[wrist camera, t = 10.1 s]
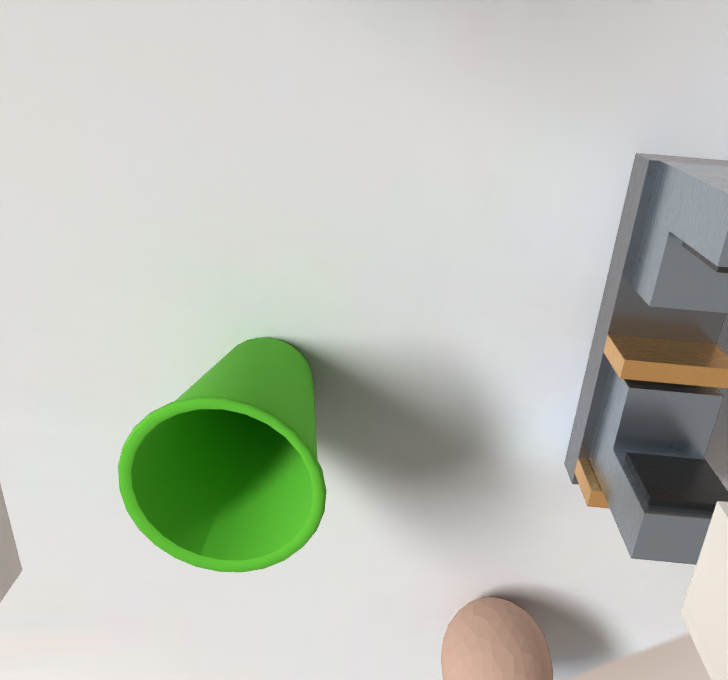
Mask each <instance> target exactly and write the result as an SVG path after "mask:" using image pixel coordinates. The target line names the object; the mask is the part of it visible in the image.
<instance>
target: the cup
mask: <svg viewBox="0 0 728 680" xmlns="http://www.w3.org/2000/svg"><path fill="white" fill-rule="evenodd" d="M118 472H119V488H120V492H121V495H122V498H123V501H124V504H125V507H126V510H127V512H128V513H129V515H130V516H131V518H132V519H133V521H134V522H135V524H136V525H137V527H138V529H139V530H140V531H141V532H142V533H143V534H144V535H145V536H146V537H148V538H149V539H150V540H151V541H152V542H153V543H154V544H155V545H156V546H158V547H159V548H161V549H162V550H164V551H165V552H167V553H168V554H170V555H171V556H173V557H174V558H177V559H179V560H181V561H184V562H186V563H189V564H191V565H194V566H196V567H200V568H205V569H210V570H214V571H219V572H246V571H252V570H258V569H264V568H267V567H269V566H272V565H274V564H276V563H279V562H281V561H284V560H285V559H287V558H288V557H290V556H291V555H292V554H294V553H295V552H297V551H298V550H299V549H301V548H302V547H303V546H304V545H305V544H306V543H307V541H308V540H309V539H310V538H311V537H312V535H313V534H314V533H315V532H316V530H317V528H318V526H319V523H320V521H321V518H322V516H323V514H324V511H325V500H326V487H325V482H324V477H323V472H322V468H321V466H320V464H319V462H318V460H317V445H316V426H315V406H314V386H313V377H312V372H311V369H310V367H309V365H308V362H307V361H306V359H305V358H304V357H303V356H302V354H301V353H300V352H299V351H298V350H296V349H295V348H294V347H293V346H291V345H290V344H288V343H286V342H283V341H281V340H277V339H273V338H255V339H250V340H247V341H245V342H243V343H241V344H239V345H237V346H236V347H235V348H234V349H233V350H231V351H230V352H229V353H228V354H227V355H226V356H225V357H224V358H223V359H221V360H220V361H219V362H218V363H217V364H216V365H215V366H214V367H213V368H211V369H210V370H209V371H208V372H207V373H206V374H205V375H204V376H203V377H201V378H200V379H199V380H198V381H197V382H196V383H195V384H194V385H193V386H191V387H190V388H189V389H188V390H187V391H186V392H185V393H184V394H183V395H181V396H180V397H179V398H178V399H177V400H176V401H175V402H171V403H169V404H167V405H165V406H163V407H161V408H159V409H157V410H155V411H153V412H151V413H150V414H149V415H148V416H146V417H145V418H144V419H143V420H142V421H141V422H140V423H139V424H138V425H136V426H135V427H134V429H133V430H132V432H131V434H130V435H129V437H128V438H127V440H126V442H125V443H124V445H123V448H122V452H121V456H120V461H119V465H118Z"/></svg>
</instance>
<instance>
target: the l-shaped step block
mask: <svg viewBox="0 0 728 680" xmlns="http://www.w3.org/2000/svg"><path fill="white" fill-rule="evenodd" d="M723 397H724V396H723V395H722V394H721V393H720V391H719V390H718V389H717V388H716V387H706V386H695V385H684V384H673V383H662V382H651V381H640V380H629V379H620V378H619V376H618V375H617V373H616V372H615V370H614V368H613V367H612V365H611V366H610V370H609V374H608V378H607V382H606V387H605V391H604V395H603V399H602V403H601V407H600V411H599V415H598V419H597V423H596V427H595V431H594V436H593V440H592V444H591V448H590V452H589V456H588V459H589V461H590V463H591V466H592V468H593V470H594V473H595V475H596V477H597V480H598V482H599V484H600V487H601V489H602V491H603V494H604V496H605V498H606V501H607V503H608V505H609V508H610V510H611V512H612V515H613V517H614V519H615V522H616V524H617V526H618V529H619V531H620V533H621V536H622V538H623V540H624V543H625V545H626V547H627V550H628V552H629V554H630V557H631V558H634V559H644V560H654V561H665V562H675V563H685V564H695V565H697V562H698V559H699V556H700V552H701V549H702V546H703V543H704V540H705V537H706V534H707V531H708V528H709V525H710V522H711V519H712V516H713V513H714V510H715V506H716V503H717V501H722V502H728V491H727V490H726V488H725V487H724V486H723V484H722V483H721V481H720V480H719V478H718V477H717V476H716V474H715V473H714V471H713V470H712V469H711V467H710V466H709V464H708V463H707V461H706V460H705V459H704V455H705V452H706V449H707V446H708V443H709V440H710V437H711V434H712V431H713V428H714V425H715V422H716V419H717V416H718V413H719V410H720V407H721V404H722V400H723Z"/></svg>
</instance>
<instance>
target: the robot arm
mask: <svg viewBox="0 0 728 680" xmlns="http://www.w3.org/2000/svg"><path fill="white" fill-rule="evenodd" d="M21 571H22V567H21V563H20V560H19V556H18V552H17V548H16V544H15V540H14V536H13V532H12V528H11V524H10V520H9V516H8V512H7V509H6V505H5V501H4V497H3V493H2V489H1V485H0V602H1V601H2V599H3V598H4V596H5V595H6V593H7V592H8V590H9V589H10V587H11V586H12V585H13V583H14V582H15V580H16V579H17V577H18V576H19V574H20V573H21ZM681 615H682V617H683V620H684V622H685V624H686V626H687V628H688V631H689V633H690V635H691V637H692V639H693V642H694V644H695V646H696V648H697V650H698V652H699V655H700V657H701V659H702V661H703V663H704V666H705V668H706V670H707V672H708V674H709V677H710V679H711V680H728V502H722V501H717V503H716V506H715V510H714V513H713V516H712V519H711V522H710V525H709V528H708V531H707V534H706V537H705V540H704V543H703V546H702V549H701V552H700V556H699V559H698V562H697V565H696V568H695V571H694V574H693V577H692V580H691V583H690V586H689V589H688V592H687V595H686V599H685V602H684V605H683V608H682V611H681Z"/></svg>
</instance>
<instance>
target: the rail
mask: <svg viewBox="0 0 728 680" xmlns="http://www.w3.org/2000/svg"><path fill="white" fill-rule="evenodd" d="M726 313H728V161H723V160H711V159H699V158H687V157H675V156H662V155H650V154H638V153H636V155H635V160H634V164H633V168H632V173H631V177H630V182H629V186H628V190H627V195H626V199H625V203H624V208H623V212H622V216H621V221H620V225H619V229H618V234H617V238H616V242H615V247H614V251H613V255H612V260H611V264H610V268H609V273H608V277H607V281H606V286H605V290H604V294H603V299H602V303H601V307H600V312H599V316H598V320H597V325H596V329H595V334H594V338H593V342H592V347H591V351H590V355H589V360H588V364H587V368H586V373H585V377H584V381H583V386H582V390H581V394H580V399H579V403H578V407H577V412H576V416H575V420H574V425H573V429H572V433H571V438H570V442H569V446H568V451H567V455H566V459H565V466H566V469H567V472H568V474H569V477H570V480H571V482H572V484H579V486H580V488H581V491H582V493H583V496H584V499H585V501H586V504H587V506H590V507H601V508H609V505H608V503H607V501H606V498H605V496H604V494H603V491H602V489H601V487H600V484H599V482H598V480H597V477H596V475H595V473H594V470H593V468H592V466H591V463H590V461H589V459H588V456H589V452H590V448H591V444H592V440H593V436H594V431H595V427H596V423H597V419H598V415H599V411H600V407H601V403H602V399H603V395H604V391H605V387H606V382H607V378H608V374H609V370H610V366H611V365H612V367H613V368H614V370H615V372H616V373H617V375H618V376H619V378H620V379H629V380H640V381H651V382H662V383H673V384H684V385H695V386H706V387H717V388H728V355H727V354H726V353H725V352H724V351H723V350H722V349H721V348H720V347H719V346H718V345H717V340H718V337H719V334H720V331H721V328H722V324H723V321H724V318H725V315H726Z"/></svg>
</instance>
